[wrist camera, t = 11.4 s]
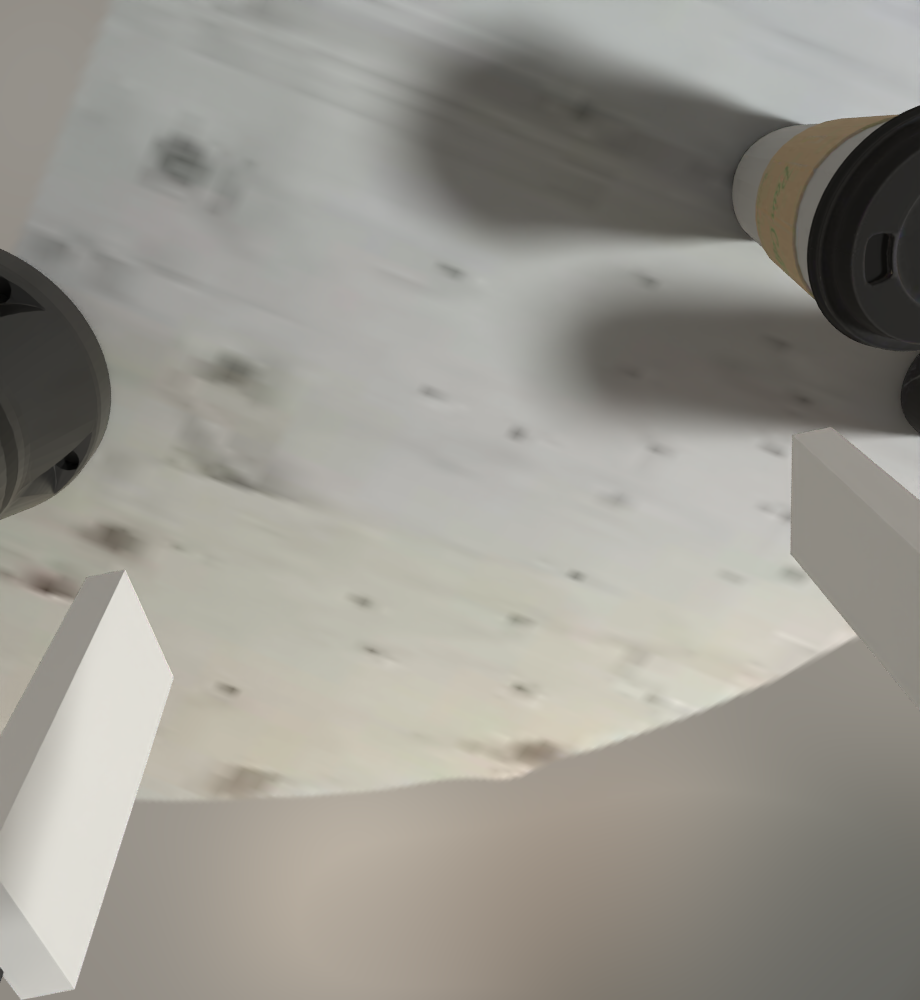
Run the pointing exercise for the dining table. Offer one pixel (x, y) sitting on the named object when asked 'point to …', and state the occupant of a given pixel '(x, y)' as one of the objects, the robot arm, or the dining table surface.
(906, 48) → the dining table surface
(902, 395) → the travel mug
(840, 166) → the coffee cup
